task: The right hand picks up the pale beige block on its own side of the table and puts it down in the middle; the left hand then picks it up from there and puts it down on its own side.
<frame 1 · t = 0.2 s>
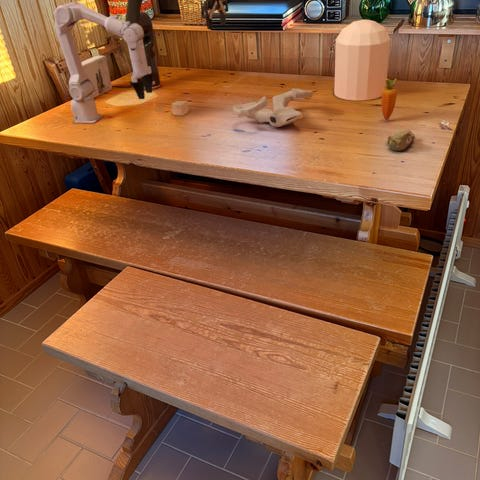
left hand: (145, 95, 182), 10 cm above the table, tool pointing down, fingers open, 7 cm apart
right hand: (216, 26, 186), 29 cm above the table, tool pointing down, fingers open, 8 cm apart
skincare box: (96, 95, 222), on the table
carrot: (386, 121, 166), on the table
rock: (401, 146, 148), on the table
pale beige block: (180, 113, 191), on the table
container: (359, 92, 194), on the table
animal horns: (279, 124, 171), on the table
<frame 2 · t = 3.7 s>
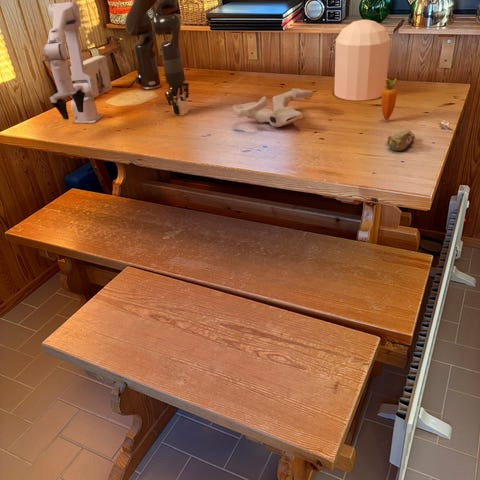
left hand: (73, 115, 173), 8 cm above the table, tool pointing down, fingers open, 7 cm apart
right hand: (180, 111, 191), 1 cm above the table, tool pointing down, fingers closed on pale beige block, 4 cm apart
pale beige block: (180, 113, 191), on the table, touching right hand
everything else where it was.
when the right hand's fingers open (1 cm above the table, at t = 8.1 s): pale beige block stays where it is, on the table.
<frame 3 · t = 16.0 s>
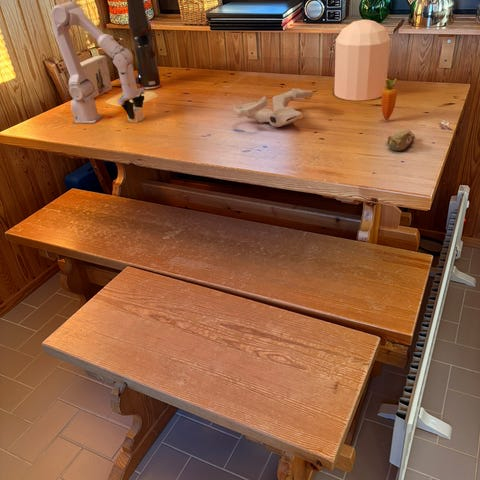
left hand: (135, 116, 188), 1 cm above the table, tool pointing down, fingers closed on pale beige block, 4 cm apart
pale beige block: (136, 119, 189), on the table, touching left hand
everything else where it was.
when the left hand's fingers open (2 cm above the table, at t = 20.1 s): pale beige block stays where it is, on the table.
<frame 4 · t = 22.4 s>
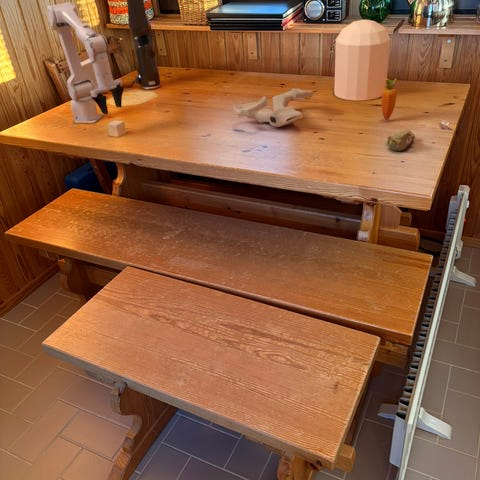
left hand: (112, 110, 172), 9 cm above the table, tool pointing down, fingers open, 7 cm apart
pale beige block: (118, 134, 177), on the table
everything else where it was.
at the end: pale beige block inside the target area (0.0 cm from its centre), on the table; pale beige block tilted 0°; the two hands never held the pale beige block at the same time; the left hand is holding nothing; the right hand is holding nothing; pale beige block at rest at the end (0.0 cm/s) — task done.
